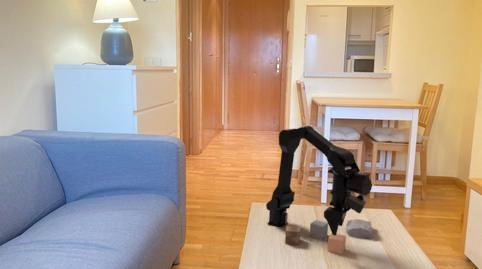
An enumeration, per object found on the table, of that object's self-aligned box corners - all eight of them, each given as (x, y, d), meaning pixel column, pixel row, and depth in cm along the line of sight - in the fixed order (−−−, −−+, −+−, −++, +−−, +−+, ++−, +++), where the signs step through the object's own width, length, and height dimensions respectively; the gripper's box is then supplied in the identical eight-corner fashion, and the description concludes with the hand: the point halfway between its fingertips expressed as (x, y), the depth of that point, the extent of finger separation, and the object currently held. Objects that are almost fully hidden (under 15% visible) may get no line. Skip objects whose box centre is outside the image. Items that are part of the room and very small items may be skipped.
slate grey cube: (309, 235, 156) (310, 223, 155) (315, 231, 160) (316, 219, 159) (321, 239, 153) (322, 226, 152) (327, 235, 157) (328, 222, 156)
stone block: (347, 241, 156) (374, 239, 154) (345, 229, 156) (372, 227, 154) (346, 230, 168) (371, 228, 166) (344, 219, 167) (369, 217, 165)
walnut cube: (285, 243, 149) (285, 230, 148) (286, 238, 154) (286, 225, 153) (298, 245, 148) (299, 232, 147) (299, 239, 153) (300, 226, 152)
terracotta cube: (327, 251, 144) (328, 237, 143) (331, 245, 148) (332, 232, 147) (341, 254, 141) (342, 241, 140) (345, 248, 146) (346, 235, 145)
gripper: (359, 199, 129) (355, 245, 132) (369, 184, 145) (365, 225, 148) (324, 193, 134) (321, 238, 137) (338, 179, 150) (335, 219, 153)
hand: (337, 230), depth 143 cm, fingers open, 9 cm apart
